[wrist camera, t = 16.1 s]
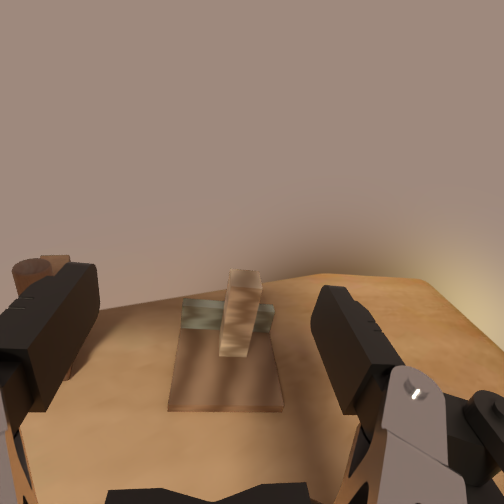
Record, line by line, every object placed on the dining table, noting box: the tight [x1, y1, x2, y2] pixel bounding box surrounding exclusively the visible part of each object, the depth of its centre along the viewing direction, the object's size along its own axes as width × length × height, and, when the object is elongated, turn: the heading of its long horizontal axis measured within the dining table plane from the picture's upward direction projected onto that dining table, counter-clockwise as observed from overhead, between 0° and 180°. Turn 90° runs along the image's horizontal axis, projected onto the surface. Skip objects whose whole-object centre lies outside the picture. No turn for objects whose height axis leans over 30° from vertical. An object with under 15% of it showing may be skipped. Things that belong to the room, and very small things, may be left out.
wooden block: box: [12, 255, 72, 381], centre depth 38 cm, size 4×11×18 cm, turn 20°
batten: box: [219, 269, 263, 357], centre depth 44 cm, size 4×4×14 cm
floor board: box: [168, 298, 284, 412], centre depth 45 cm, size 16×16×6 cm
